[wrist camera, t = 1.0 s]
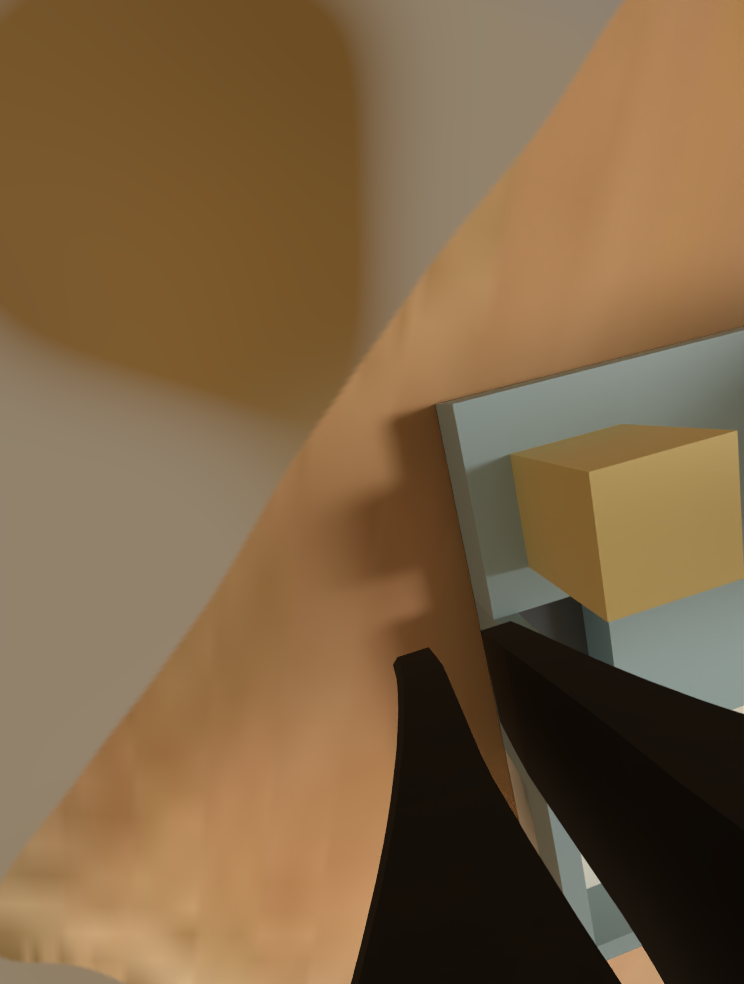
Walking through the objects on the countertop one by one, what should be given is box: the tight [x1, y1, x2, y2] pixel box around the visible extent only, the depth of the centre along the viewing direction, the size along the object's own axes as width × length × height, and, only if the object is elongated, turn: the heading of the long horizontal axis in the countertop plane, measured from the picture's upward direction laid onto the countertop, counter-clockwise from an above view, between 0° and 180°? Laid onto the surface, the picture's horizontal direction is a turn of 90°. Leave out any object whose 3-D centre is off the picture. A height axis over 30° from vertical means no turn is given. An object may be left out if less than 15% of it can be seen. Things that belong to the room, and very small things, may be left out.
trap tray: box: [435, 326, 744, 961], centre depth 19 cm, size 17×24×4 cm
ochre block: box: [510, 424, 744, 622], centre depth 15 cm, size 4×4×4 cm
